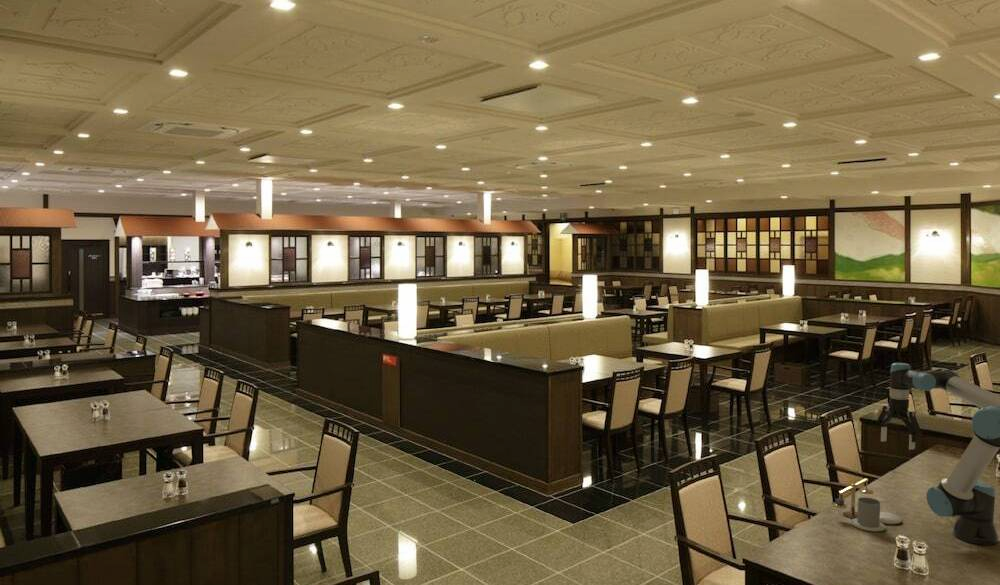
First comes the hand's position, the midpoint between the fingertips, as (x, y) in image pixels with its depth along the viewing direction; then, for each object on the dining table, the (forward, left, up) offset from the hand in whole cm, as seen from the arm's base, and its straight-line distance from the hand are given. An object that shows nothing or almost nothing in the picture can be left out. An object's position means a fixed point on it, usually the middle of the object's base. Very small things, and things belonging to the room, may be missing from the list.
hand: (897, 445), depth 303 cm
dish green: (-5, +23, -32) cm, 39 cm away
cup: (-5, +23, -31) cm, 39 cm away
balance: (+6, +19, -32) cm, 37 cm away
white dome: (-2, +9, -32) cm, 33 cm away
